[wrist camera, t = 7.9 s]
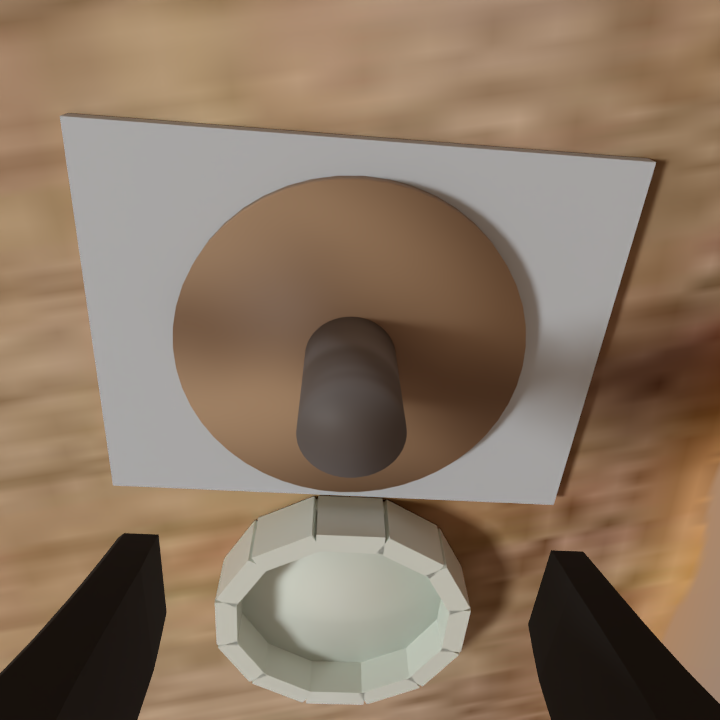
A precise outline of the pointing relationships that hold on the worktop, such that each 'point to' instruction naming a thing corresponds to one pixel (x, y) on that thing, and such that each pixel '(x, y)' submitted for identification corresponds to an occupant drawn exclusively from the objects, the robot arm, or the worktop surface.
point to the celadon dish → (341, 601)
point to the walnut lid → (349, 334)
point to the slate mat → (325, 159)
